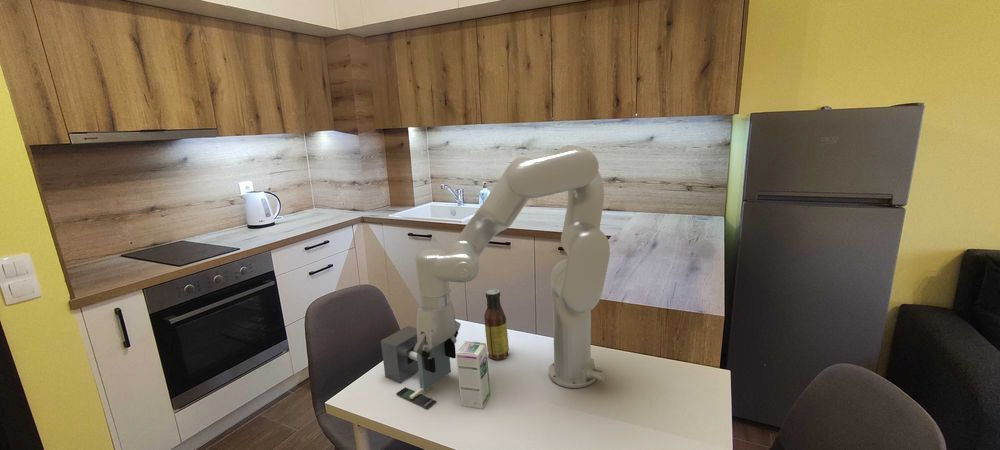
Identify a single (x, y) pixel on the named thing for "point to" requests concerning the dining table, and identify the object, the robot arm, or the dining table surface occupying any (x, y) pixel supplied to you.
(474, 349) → the syrup box
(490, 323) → the sauce bottle
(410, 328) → the frame
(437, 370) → the blue-grey plate with rod
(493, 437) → the dining table surface
